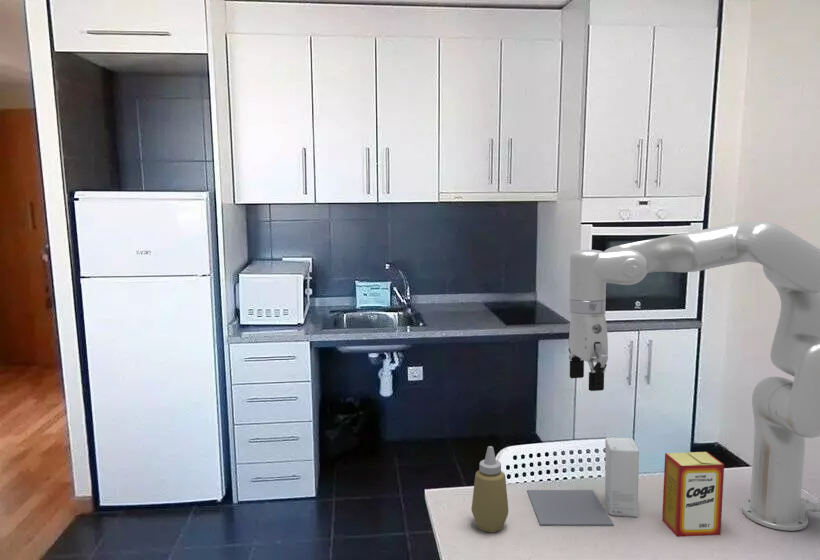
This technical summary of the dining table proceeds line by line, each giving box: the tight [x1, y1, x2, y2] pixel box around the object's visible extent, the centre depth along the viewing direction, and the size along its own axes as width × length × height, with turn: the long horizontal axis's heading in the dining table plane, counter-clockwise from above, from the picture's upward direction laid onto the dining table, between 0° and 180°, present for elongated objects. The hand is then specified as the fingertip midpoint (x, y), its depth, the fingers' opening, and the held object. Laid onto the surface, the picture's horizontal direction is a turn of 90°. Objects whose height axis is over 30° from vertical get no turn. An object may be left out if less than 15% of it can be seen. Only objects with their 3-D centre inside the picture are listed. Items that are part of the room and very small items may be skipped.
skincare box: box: [604, 437, 640, 518], centre depth 137 cm, size 8×7×16 cm
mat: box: [526, 489, 615, 527], centre depth 138 cm, size 16×16×1 cm
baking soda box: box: [661, 451, 725, 538], centre depth 128 cm, size 10×6×16 cm
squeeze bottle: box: [471, 445, 509, 533], centre depth 129 cm, size 8×8×18 cm
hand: (586, 383), depth 131 cm, fingers open, 9 cm apart
